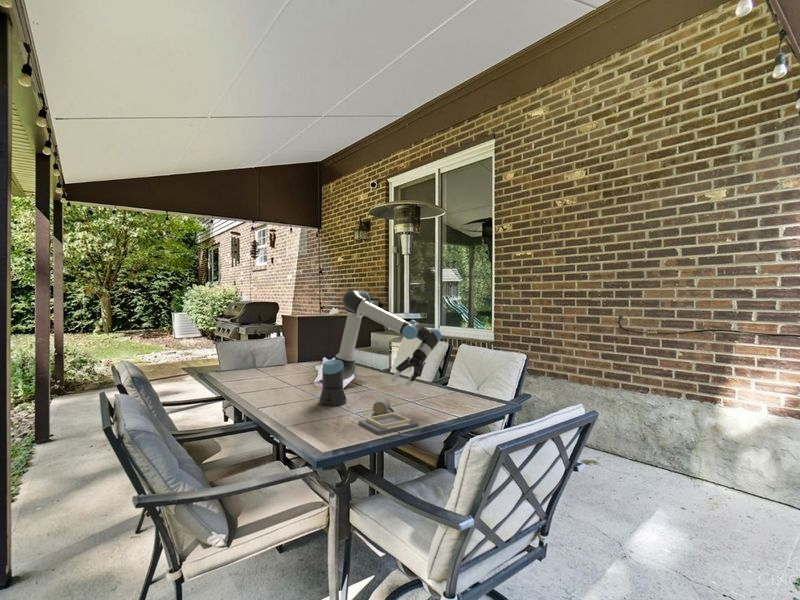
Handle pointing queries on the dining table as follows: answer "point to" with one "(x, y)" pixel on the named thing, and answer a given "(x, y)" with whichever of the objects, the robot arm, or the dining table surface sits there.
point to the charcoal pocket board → (387, 423)
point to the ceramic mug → (382, 406)
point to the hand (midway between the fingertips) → (399, 383)
